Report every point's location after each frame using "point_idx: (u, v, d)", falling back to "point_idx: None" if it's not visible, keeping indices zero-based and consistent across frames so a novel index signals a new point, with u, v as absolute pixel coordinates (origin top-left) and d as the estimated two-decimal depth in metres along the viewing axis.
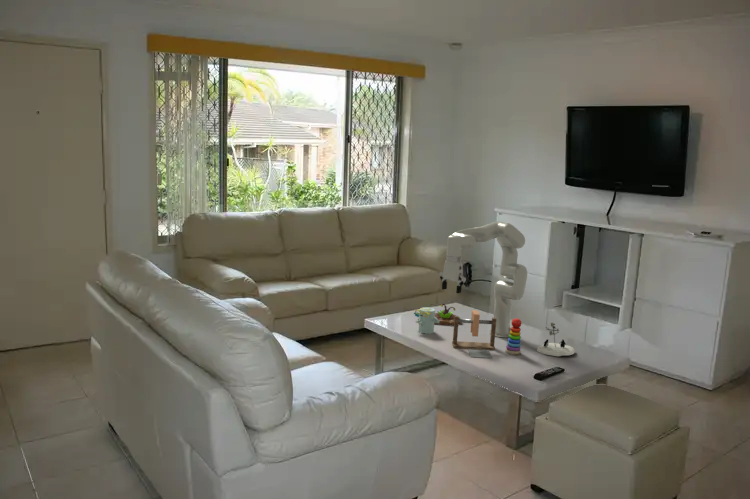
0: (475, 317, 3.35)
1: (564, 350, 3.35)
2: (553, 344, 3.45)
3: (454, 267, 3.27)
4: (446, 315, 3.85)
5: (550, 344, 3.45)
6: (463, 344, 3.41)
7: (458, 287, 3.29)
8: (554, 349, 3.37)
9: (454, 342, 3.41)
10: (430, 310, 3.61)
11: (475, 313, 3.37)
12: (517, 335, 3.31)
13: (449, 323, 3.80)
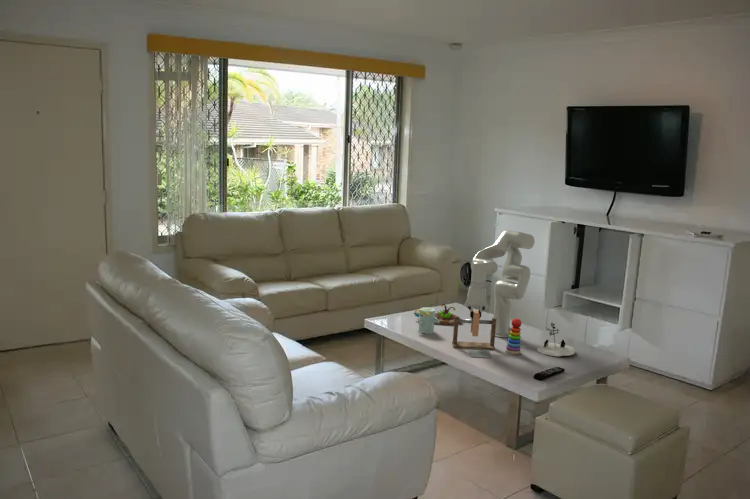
0: (475, 317, 3.35)
1: (564, 350, 3.35)
2: (553, 344, 3.44)
3: (483, 293, 3.35)
4: (446, 315, 3.85)
5: (550, 344, 3.45)
6: (463, 344, 3.41)
7: (480, 313, 3.38)
8: (554, 349, 3.37)
9: (454, 342, 3.41)
10: (430, 310, 3.61)
11: (475, 313, 3.37)
12: (517, 335, 3.31)
13: (449, 323, 3.80)
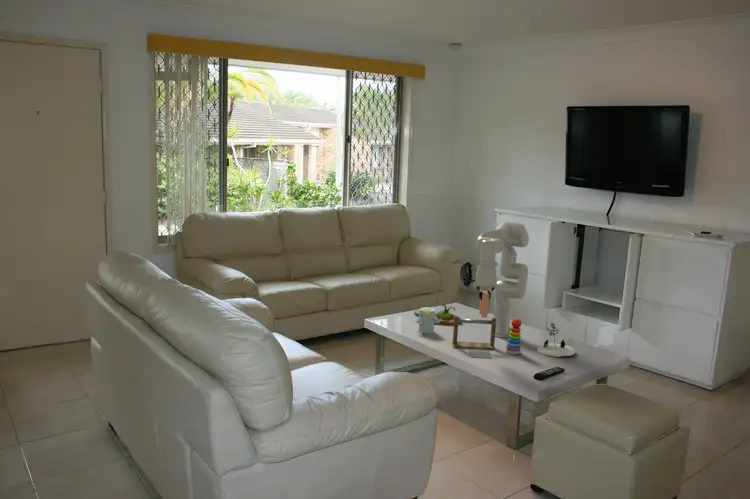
0: (484, 297, 3.21)
1: (564, 350, 3.34)
2: (553, 344, 3.44)
3: (493, 272, 3.21)
4: (446, 315, 3.85)
5: (550, 344, 3.44)
6: (463, 344, 3.41)
7: (489, 294, 3.24)
8: (554, 349, 3.36)
9: (454, 342, 3.41)
10: (430, 310, 3.61)
11: (484, 293, 3.23)
12: (517, 335, 3.31)
13: (449, 323, 3.80)
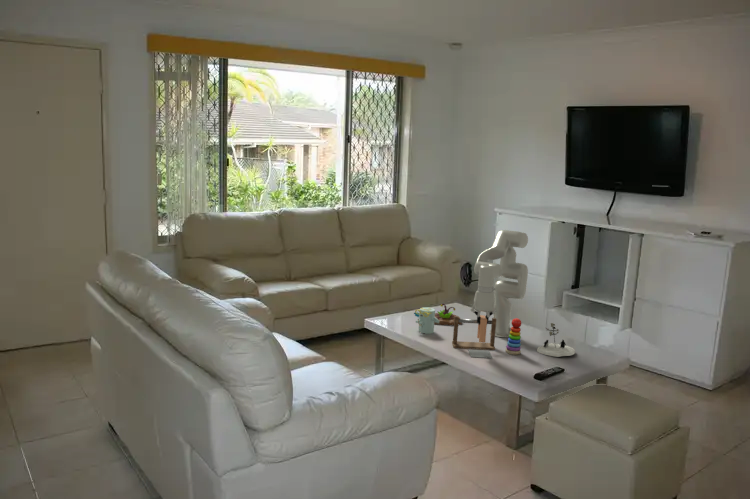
0: (482, 322, 3.23)
1: (564, 350, 3.34)
2: (553, 344, 3.44)
3: (491, 297, 3.23)
4: (446, 315, 3.85)
5: (550, 344, 3.44)
6: (463, 344, 3.41)
7: (487, 319, 3.26)
8: (554, 349, 3.36)
9: (454, 342, 3.41)
10: (430, 310, 3.61)
11: (482, 318, 3.25)
12: (517, 335, 3.31)
13: (449, 323, 3.80)
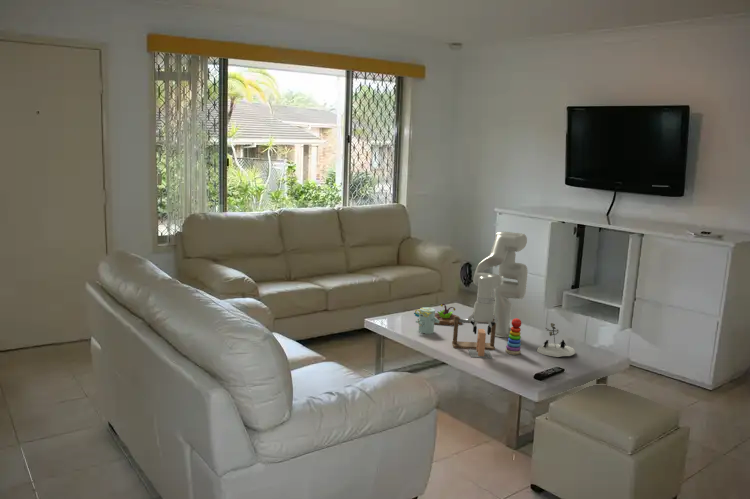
0: (481, 336, 3.25)
1: (564, 351, 3.34)
2: (553, 345, 3.44)
3: (490, 308, 3.24)
4: (446, 315, 3.85)
5: (550, 345, 3.44)
6: (463, 344, 3.41)
7: None
8: (554, 350, 3.36)
9: (454, 342, 3.41)
10: (430, 310, 3.61)
11: (481, 332, 3.26)
12: (517, 335, 3.31)
13: (449, 323, 3.80)
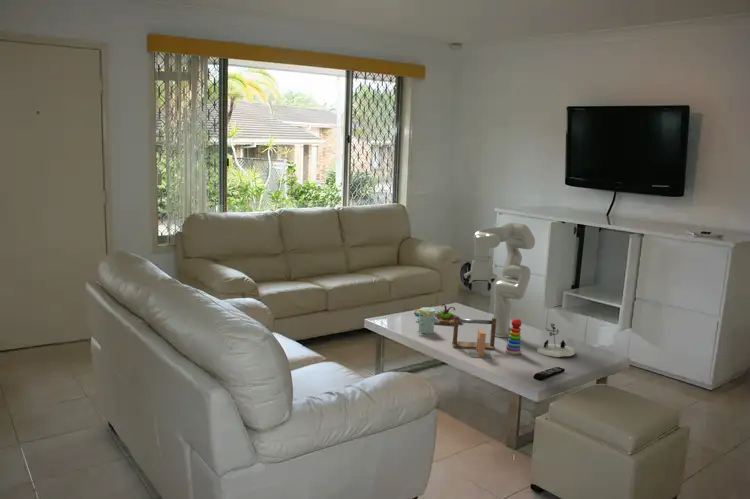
0: (481, 336, 3.25)
1: (564, 351, 3.34)
2: (553, 345, 3.44)
3: (487, 266, 3.32)
4: (446, 315, 3.85)
5: (550, 345, 3.44)
6: (463, 344, 3.41)
7: None
8: (554, 350, 3.36)
9: (454, 342, 3.41)
10: (430, 310, 3.61)
11: (481, 332, 3.26)
12: (517, 335, 3.31)
13: (449, 323, 3.80)
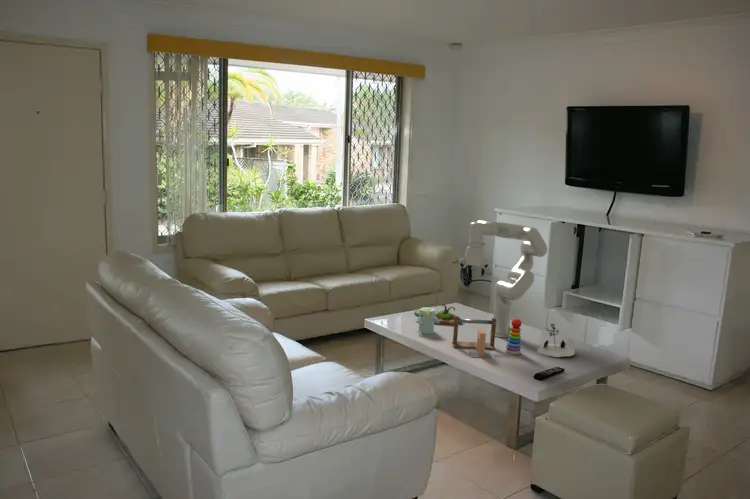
0: (481, 336, 3.25)
1: (564, 351, 3.33)
2: (553, 345, 3.43)
3: (481, 252, 3.44)
4: (446, 315, 3.85)
5: (550, 345, 3.43)
6: (463, 344, 3.41)
7: (483, 270, 3.47)
8: (554, 350, 3.35)
9: (454, 342, 3.41)
10: (430, 310, 3.61)
11: (481, 332, 3.26)
12: (517, 335, 3.31)
13: (449, 323, 3.80)
